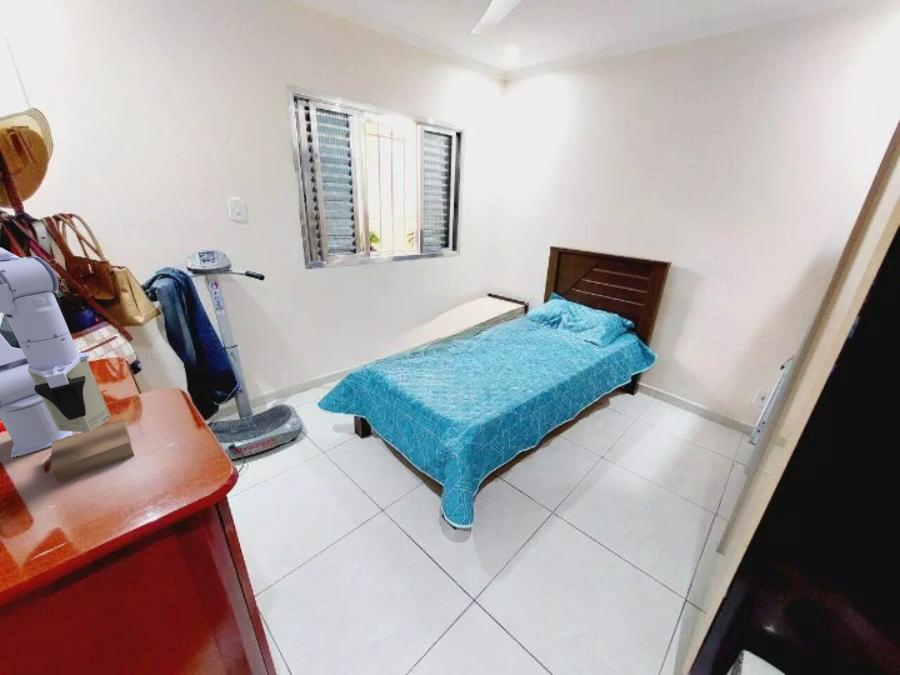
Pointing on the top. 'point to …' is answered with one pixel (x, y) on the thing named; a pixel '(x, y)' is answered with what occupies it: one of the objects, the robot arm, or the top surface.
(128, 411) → the top surface
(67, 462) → the block
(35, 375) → the skincare box
